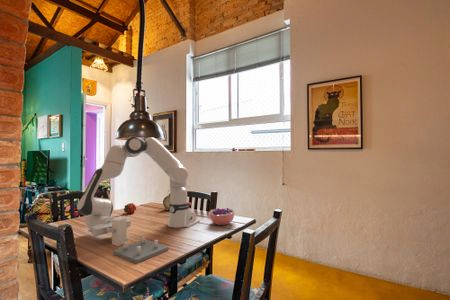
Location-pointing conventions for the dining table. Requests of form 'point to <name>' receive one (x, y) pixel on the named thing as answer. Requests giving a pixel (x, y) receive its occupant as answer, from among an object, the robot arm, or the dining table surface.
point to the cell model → (221, 216)
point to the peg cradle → (140, 250)
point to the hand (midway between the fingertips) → (120, 229)
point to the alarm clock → (166, 202)
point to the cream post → (119, 231)
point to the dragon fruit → (130, 208)
